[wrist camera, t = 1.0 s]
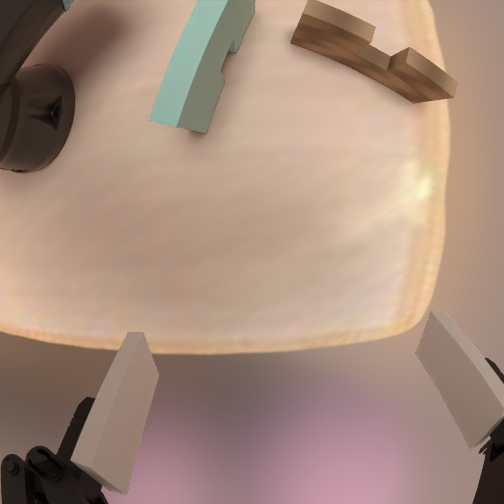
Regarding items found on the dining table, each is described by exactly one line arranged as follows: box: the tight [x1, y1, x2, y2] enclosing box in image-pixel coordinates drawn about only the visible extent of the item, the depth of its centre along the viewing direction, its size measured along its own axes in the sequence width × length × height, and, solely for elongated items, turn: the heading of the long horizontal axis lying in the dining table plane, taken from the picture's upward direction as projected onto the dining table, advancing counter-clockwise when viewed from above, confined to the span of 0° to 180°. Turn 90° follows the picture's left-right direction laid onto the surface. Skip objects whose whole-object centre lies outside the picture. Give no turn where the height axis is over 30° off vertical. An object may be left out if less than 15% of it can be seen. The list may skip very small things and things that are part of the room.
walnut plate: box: [291, 0, 457, 103], centre depth 20 cm, size 16×2×8 cm, turn 71°
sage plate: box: [149, 0, 255, 134], centre depth 18 cm, size 16×2×12 cm, turn 161°
